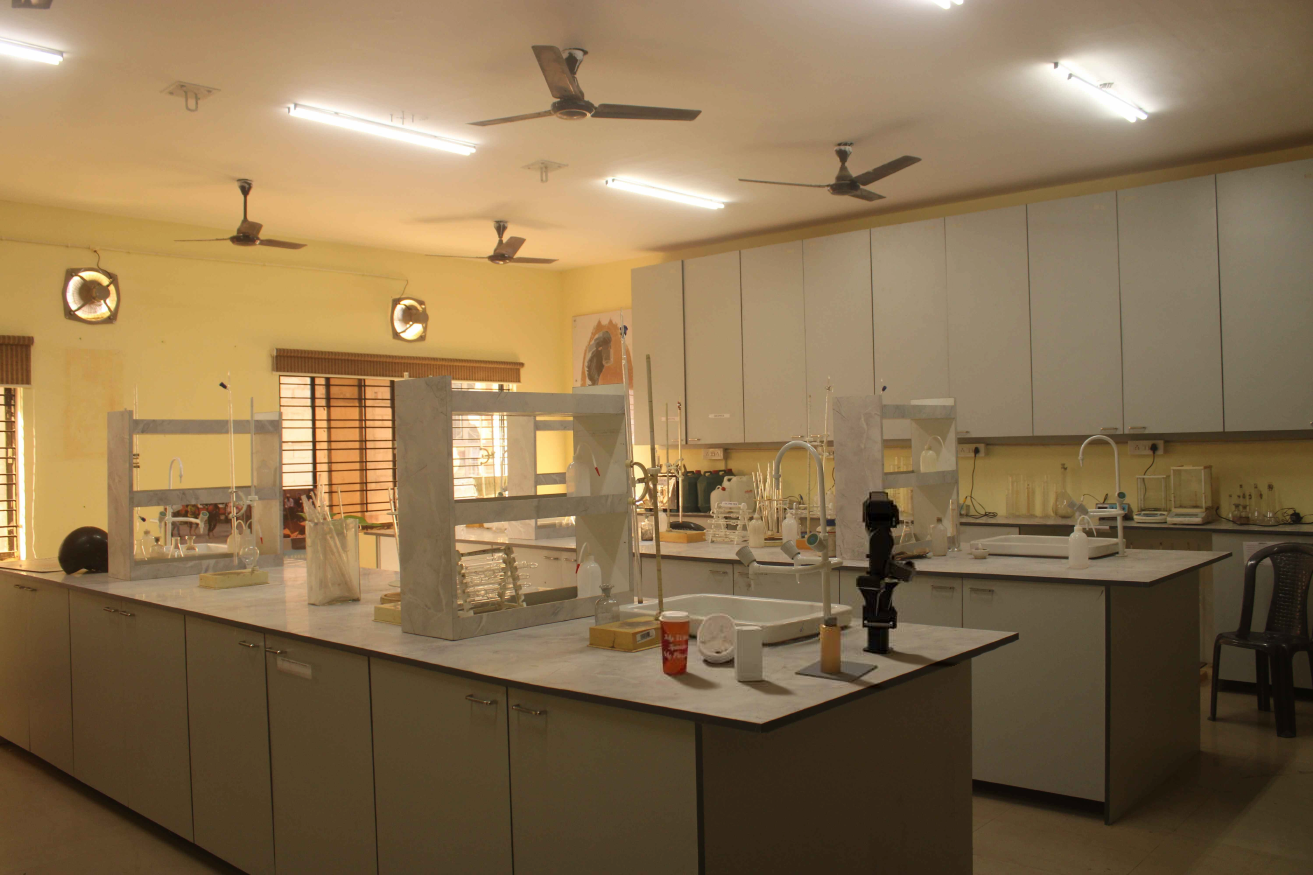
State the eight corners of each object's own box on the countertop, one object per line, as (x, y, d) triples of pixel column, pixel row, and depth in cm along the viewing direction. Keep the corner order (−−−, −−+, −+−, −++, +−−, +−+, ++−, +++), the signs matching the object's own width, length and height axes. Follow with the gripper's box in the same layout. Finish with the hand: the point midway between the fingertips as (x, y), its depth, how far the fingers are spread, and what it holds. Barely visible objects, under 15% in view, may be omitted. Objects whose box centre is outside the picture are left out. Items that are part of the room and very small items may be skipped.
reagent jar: (820, 668, 231) (820, 615, 231) (840, 669, 230) (840, 615, 230) (820, 673, 226) (819, 618, 227) (841, 674, 226) (840, 619, 226)
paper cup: (663, 676, 224) (663, 616, 224) (655, 668, 232) (655, 611, 232) (695, 674, 226) (695, 615, 227) (685, 667, 234) (686, 609, 234)
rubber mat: (823, 659, 243) (823, 657, 243) (877, 666, 236) (877, 664, 236) (795, 673, 228) (795, 672, 228) (851, 681, 220) (851, 680, 220)
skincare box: (759, 676, 225) (759, 625, 225) (763, 681, 220) (763, 628, 220) (733, 677, 224) (733, 625, 224) (736, 682, 220) (736, 629, 220)
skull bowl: (742, 646, 252) (740, 611, 245) (737, 686, 240) (735, 650, 234) (702, 644, 254) (700, 609, 247) (696, 683, 242) (693, 648, 236)
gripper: (900, 555, 225) (900, 621, 225) (923, 548, 241) (923, 610, 241) (855, 552, 231) (854, 617, 231) (880, 545, 247) (880, 606, 247)
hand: (880, 612), depth 237 cm, fingers open, 9 cm apart
